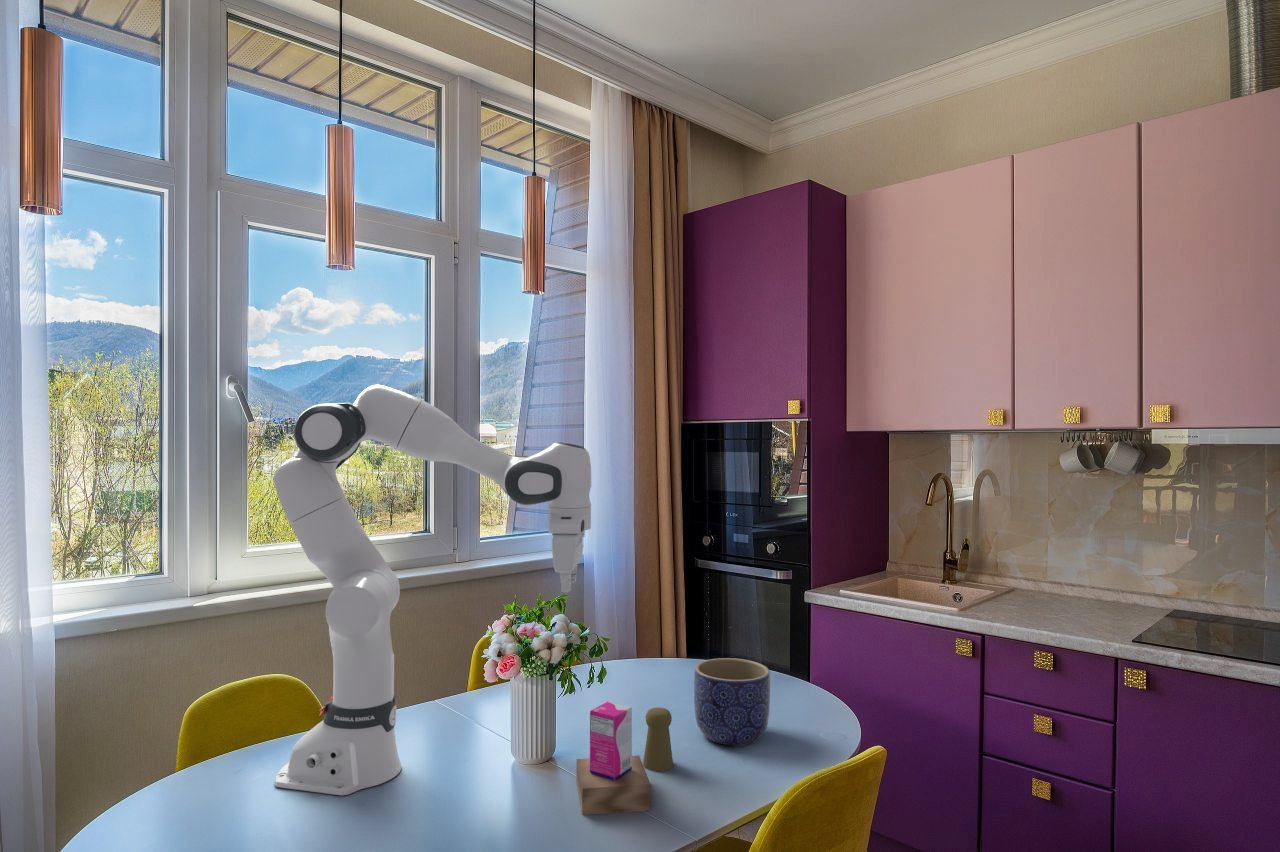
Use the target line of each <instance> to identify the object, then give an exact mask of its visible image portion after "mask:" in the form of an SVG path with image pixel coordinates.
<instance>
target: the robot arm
mask: <svg viewBox="0 0 1280 852" xmlns="http://www.w3.org/2000/svg"><path fill="white" fill-rule="evenodd" d="M293 437H294V442H295V444H296V446H297V447H298V449H299V451H298V452H297V454H296V455H294V457H293V456H292V457H291V458H289V459H287V460H285V461H284V462H283V463H282V464H281V465H280V466H278V467H277V469H276V470H275V473H274V476H273V484H274V487H275V491H276V495H277V498H278V500H279V503H280V505H281V508H282V510H283V512H284V515H285V517H286V519H287V521H288V522H289V524H290V527H291V529H292V530H293V533H294V534H295V536H296V539H297V540H298V542H299V544H300V546H301V548H302V549H303V551H304V553H305V555H306V557H307V559H308V561H310V563H311V564H313V565H314V566H316V568H318V570H320V572H321V573H322V574H323V576H324V577H325V578H326V580H328V582H329V583H330V584H331V586H332V588H333V589H332V590H331V592H330V594H329V596H328V598H327V601H326V605H325V610H324V611H325V620H326V622H327V626H328V633H329V640H330V646H331V651H332V658H333V659H332V663H333V666H332V667H333V670H332V671H333V681H332V682H333V684H332V686H333V687H332V688H333V689H332V693H333V694H332V696H331V697H330V698H329V700H328V701H327V702H325V704H323V706H322V708H320V709H319V712H320V713H319V717H321V716H323V720H321V721H320V722H318V723H317V724H316V725H315V726H313V728H311V729H310V730H309V731H308V732H306V733H305V734H304V735H302V736H301V737H300V738H299V739H298V740H297V742H295V744H294V745H293V747H292V750H291V753H290V756H289V761H288V762H287V763H285V765H283V766H282V768H280V769H279V771H278V772H277V774H276V775H275V779H274V780H275V781H274V786H275V787H276V788H281V789H290V790H295V791H296V790H297V791H303V792H305V791H306V792H312V793H313V792H314V793H320V794H328V795H336V796H348V795H350V794H352V793H356V792H358V791H360V790H363V789H367V788H372V787H374V786H378V785H381V784H384V783H387V782H388V781H390V780H392V779H393V778H395V777H396V776H398V774H399V773H400V772H401V770H402V763H401V760H400V757H399V751H398V748H397V747H398V746H397V740H396V734H395V733H396V731H395V726H396V722H397V698H396V697H397V696H396V695H395V694H394V692H395V689H394V687H395V685H394V684H395V653H394V650H393V643H392V636H391V615H392V613H393V612H392V611H394V609H395V607H396V606H397V604H398V602H399V600H400V596H401V595H400V594H401V587H400V586H401V585H400V581H399V579H398V576H397V575H396V573H395V572H394V571H393V570H392V569H391V568H390V566H389V565H388V563H387V562H386V560H385V559H384V557H383V555H382V554H381V553H380V551H379V550H378V548H377V547H376V546H375V544H374V543H373V542H372V541H371V539H370V538H369V536H368V535H367V533H366V531H365V530H364V528H363V526H362V524H361V523H360V520H359V519H358V517H357V514H356V513H355V511H354V509H353V507H352V505H351V504H350V501H349V500H348V497H347V496H346V494H345V493H344V491H343V489H342V486H341V485H340V483H339V481H338V478H337V473H336V470H337V469H339V468H340V467H341V466H342V465H344V463H345V462H346V461H347V460H349V459H350V458H351V457H352V456H353V455H355V453H356V452H357V451H358V449H359V448H360V446H361V444H362V442H365V441H375V442H379V443H381V444H384V445H386V446H388V447H390V448H392V449H394V450H396V451H398V452H401V453H402V454H405V455H408V456H409V457H413V458H417V459H420V460H423V461H427V462H434V463H435V462H439V463H441V462H443V463H449V464H450V463H451V464H454V465H459V466H462V467H464V468H466V469H468V470H470V471H473V472H474V473H477V474H478V475H479V474H480V475H481V476H484V477H485V478H487V479H490V480H492V481H493V482H495V483H496V484H497V485H499V487H501V489H502V491H503V492H504V493H505V494H506V495H507V496H508V497H509V499H511V500H512V501H513V502H514V503H517V504H518V505H521V506H527V507H528V506H534V505H537V504H541V503H546V502H548V517H547V518H548V522H547V524H548V525H547V526H548V534H550V535H551V534H552V535H551V550H552V551H551V552H552V553H551V555H552V563H553V564H552V565H553V569H554V572H555V573H559V578H560V583H561V584H560V589H561V590H560V591H561V593H570V592H571V589H572V584H575V583H576V582H577V570H578V566H579V565H578V564H579V562H580V560H581V559H582V558H583V551H584V550H583V549H584V548H583V547H584V546H583V544H584V542H583V540H584V539H583V538H585V535H586V534H585V531H588V530H589V531H590V530H591V528H592V504H591V498H590V492H591V488H592V466H591V457H590V453H589V452H588V450H587V449H586V448H585V447H584V446H582V445H578V444H573V443H569V442H562V441H556V442H553V443H552V444H551V445H550V446H548V447H547V448H544V449H543V450H541V451H540V452H537V453H534V454H532V455H530V456H528V455H511V454H507V453H505V452H502V451H500V450H499V449H496V448H494V447H492V446H491V445H488V444H486V443H484V442H482V441H480V440H478V439H476V438H474V437H472V436H471V435H470V434H468V433H467V432H466V431H465V430H464V429H462V428H461V426H460V425H459V424H458V423H457V422H456V421H455V420H454V419H452V418H451V417H450V416H449V415H447V414H446V413H445V412H443V411H442V410H441V409H439V408H437V407H436V406H434V405H432V404H431V403H430V402H429V403H428V402H427V401H425V400H422V399H420V398H419V397H417V396H414V395H411V394H409V393H407V392H404V391H401V390H399V389H395V388H392V387H389V386H386V385H383V384H382V385H381V384H373V385H370V386H368V387H367V388H364V390H362V392H360V394H359V395H358V396H357V398H356V400H355V401H354V402H353V403H352V402H336V403H333V402H332V403H331V402H330V403H319V404H316V405H312V406H311V407H309V408H306V409H305V410H304V411H303V412H301V414H300V415H299V416H298V418H297V420H296V422H295V424H294V429H293Z"/></svg>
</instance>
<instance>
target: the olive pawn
mask: <svg viewBox="0 0 1280 852" xmlns="http://www.w3.org/2000/svg"><path fill="white" fill-rule="evenodd" d="M672 719H673V716H672V713H671V712H670V710H668V709H667V708H664V707H652V708H650V709H648V711H647V712H646V714H645V722H646V725H647V733H646V738H645V739H646V740H645V748H644V755H643V761H642V764H643V766H644V769H646V770H649V771H652V772H666V771H670V770H671V769H672V768H673V767H674V763H673V762H674V760H673V753H672V752H673V751H672V744H671V735H670V726H671V724H672Z"/></svg>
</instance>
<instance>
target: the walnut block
mask: <svg viewBox="0 0 1280 852" xmlns="http://www.w3.org/2000/svg"><path fill="white" fill-rule="evenodd" d="M575 767H576V771H575V772H576V774H575V777H576V778H575V779H576V780H575V781H576V790H577V795H578V799H579V805H580V810H581V815H582V816H584V815H586V816H587V815H597V814H598V815H600V814H615V813H626V812H627V813H628V812H629V813H630V812H640V811H651V790H652V789H651V782H650V780H649V777H648V774H647V772H646V770H645V769H646V768H645V767H644V766H643V761H642V759H641V756H640V755H632V770H630V771H629V772H627V773H626V774H624V775H623V776H621V777H620V778H618V779H617V780H615V781H614V780H611V779H608V778H605V777H602V776H599V775H595V774H592V773H590V757H589V758H576V766H575Z"/></svg>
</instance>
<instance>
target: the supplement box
mask: <svg viewBox="0 0 1280 852" xmlns="http://www.w3.org/2000/svg"><path fill="white" fill-rule="evenodd" d="M632 729H633V707H632V706H628V705H623V704H620V703H619V704H618V703H615V702H611V701H606V702H605V703H602V704H600V705H598V706H597V707H594V708H593V709H591V710H589V758H590V773H592V774H595V775H599V776H602V777H605V778H608V779H611V780H614V781H615V780H617V779H618V778H620V777H621V776H623V775H624V774H626V773H627V772H629V771H630V770H632V756H633V749H632V748H633V740H632V739H633V733H632V732H633V730H632Z"/></svg>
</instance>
